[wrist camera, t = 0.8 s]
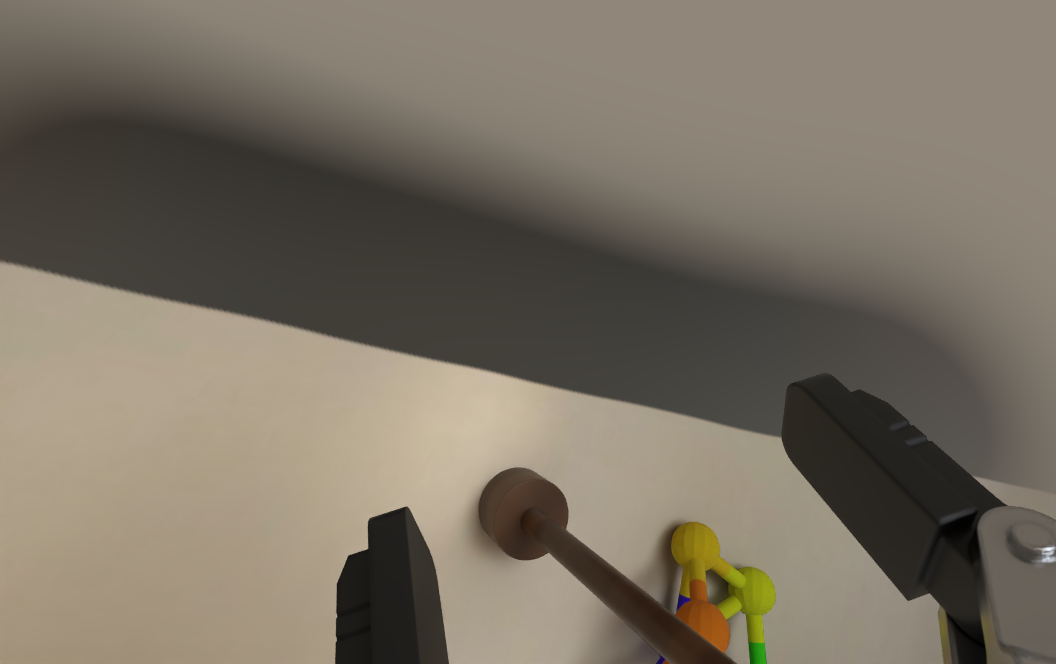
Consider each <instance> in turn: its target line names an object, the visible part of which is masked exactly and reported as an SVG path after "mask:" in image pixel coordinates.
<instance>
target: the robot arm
mask: <svg viewBox="0 0 1056 664" xmlns="http://www.w3.org/2000/svg"><path fill="white" fill-rule="evenodd" d="M785 399H786V400H785V408H784V416H783V425H782V442H783V445H784V448H785V451H786V453H787V455H788V457H789V458H790V460H791V461H792V463H793V464H794V465H795V467H796V468H797V469H798V470H799V471H800V472H801V474H802V475H803V476H804V477H805V478H806V480H807V481H808V482H809V483H810V484H811V486H812V487H813V488H814V489H815V490H816V492H817V493H818V494H819V495H820V496H821V498H822V499H823V500H824V501H825V502H826V504H827V505H828V506H829V507H830V508H831V510H832V511H833V512H834V513H835V514H836V516H837V517H838V518H839V519H840V520H841V521H842V523H843V524H844V525H845V526H846V527H847V529H848V530H849V531H850V532H851V533H852V535H853V536H854V537H855V538H856V539H857V541H858V542H859V543H860V544H861V545H862V547H863V548H864V549H865V550H866V551H867V553H868V554H869V555H870V556H871V557H872V559H873V560H874V561H875V562H876V563H877V565H878V566H879V567H880V568H881V569H882V570H883V572H884V573H885V574H886V575H887V576H888V578H889V579H890V580H891V581H892V582H893V584H894V585H895V586H896V587H897V588H898V590H899V591H900V592H901V593H902V594H903V596H904V597H905V598H906V599H907V600H908V601H909V600H912V599H915V598H918V597H920V596H923V595H926V594H928V593H930V594H931V595H932V596H933V597H934V598H935V600H936V601H937V602H938V603H939V604H940V607H939V611H938V617H939V626H940V635H941V644H942V653H943V662H944V664H1056V520H1055V519H1053V518H1051V517H1049V516H1047V515H1045V514H1042V513H1040V512H1037V511H1034V510H1031V509H1027V508H1023V507H1015V506H1007V505H1006V504H1004V503H1003V502H1001V501H1000V500H999V499H998V498H996V497H995V496H994V495H993V494H992V493H991V492H989V491H988V490H987V489H986V488H985V487H984V486H983V485H981V484H980V483H979V482H978V481H977V480H976V479H975V478H973V477H972V476H971V475H970V474H969V473H967V472H966V471H965V470H964V469H963V468H962V467H961V466H960V465H958V464H957V463H956V462H955V461H954V460H952V458H950V457H949V456H948V455H947V454H946V453H944V451H942V450H941V449H940V448H939V447H938V446H937V445H935V444H934V443H933V442H932V441H928V440H927V437H926V436H925V435H924V434H923V433H922V432H921V431H919V430H918V429H917V428H916V427H915V426H914V425H912V426H911V425H910V424H909V421H908V420H907V419H906V418H905V417H903V416H902V415H901V414H900V413H899V412H898V411H897V410H895V409H894V408H893V407H892V406H891V405H890V404H888V403H887V402H885V401H883V400H881V399H879V398H877V397H875V396H872V395H870V394H868V393H866V392H864V391H862V390H856V391H854V392H850V391H849V390H848V389H847V388H846V387H845V386H843V385H842V384H841V383H840V382H839V381H838V380H837V379H836V378H835V377H833V376H832V375H830V374H827V373H823V374H820V375H816V376H813V377H810V378H807V379H804V380H801V381H798V382H795V383H792V384H790V385H789V386H788V387H787V391H786V398H785ZM368 548H369V549H367V550H364V551H361V552H358V553H355V554H352V555H349V556H348V558H347V560H346V563H345V565H344V568H343V570H342V573H341V575H340V578H339V580H338V583H337V606H336V613H337V618H336V637H337V642H336V657H335V664H449V661H448V653H447V646H446V639H445V631H444V624H443V617H442V609H441V602H440V595H439V587H438V580H437V575H436V570H435V566H434V562H433V559H432V556H431V553H430V550H429V548H428V546H427V544H426V542H425V540H424V538H423V536H422V534H421V532H420V530H419V527H418V525H417V523H416V521H415V519H414V517H413V515H412V513H411V511H410V509H409V508H408V507H407V506H406V507H403V508H400V509H397V510H394V511H391V512H388V513H385V514H381V515H378V516H375V517H372V518H370V519H369V521H368Z"/></svg>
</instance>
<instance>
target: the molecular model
mask: <svg viewBox="0 0 1056 664" xmlns="http://www.w3.org/2000/svg"><path fill="white" fill-rule="evenodd" d="M671 550H672V554H673V556H674V558H675V560H676V561H677V563H678V564H679V565H680V566H682V567H683V574H682V580H681V586H680V592H679V599H678V605H677V611H676V615H675V616H677V617H678V618H679V619H681V620H682V621H683V622H684V623H686V624H687V625H688V626H689V627H691V628H692V629H693V630H695V631H696V632H697V633H698V634H700V635H701V636H702V637H704V638H705V639H706V640H707V641H709V642H710V643H711V644H713V645H714V646H715V647H716V648H718V649H719V650H720V651H721V652H723V653H724V652H725V651H726V649H727V647H728V644H729V639H730V631H729V626H728V623H727V619H729V618H730V617H731V616H733V615H734V614H736V613H737V612H738V611H741V612H742V613H745V614H746V621H747V633H748V644H749V655H750V664H767V663H766V652H765V642H764V632H763V621H762V615H764V614H766V613H767V612H769V611H770V610H771V609H772V607H773V606H774V603H775V598H776V593H775V587H774V584H773V582H772V580H771V579H770V577H769V576H768V575H767V574H766V573H764V572H763V571H761V570H759V569H757V568H754V567H744V568H741V569H738V570H736V569H735V568H734V567H732V566H731V565H730V564H729V563H727V562H726V561H725V560H724V559H722V558H721V557H720V556H719V555H720V545H719V542H718V539H717V537H716V535H715V533H714V532H713V531H712V530H711V529H710V528H709V527H707V526H706V525H704V524H701V523H698V522H688V523H685V524H683V525H681V526H680V527H678V528H677V529H676V531H675V532H674V534H673V537H672V542H671ZM709 569H712V570H713V571H714V572H716V573H717V574H718V575H719V576H721V577H722V578H723V579H725V580H726V581H727V582H728V583H729V584H728V593H729V597H728V598H727V599H725V600H724V601H722V602H721V603H719V604H718V605H717V606H715V605H713V604H711V603H709V602H708V598H707V586H706V574H705V571H707V570H709ZM659 655H660V654H659ZM656 664H670V663H669V662H668V661H667V660H666V659H664V658H663V657H662V656H661V655H660V659H659V660H658V662H657V663H656Z"/></svg>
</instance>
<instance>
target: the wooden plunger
mask: <svg viewBox="0 0 1056 664" xmlns="http://www.w3.org/2000/svg"><path fill="white" fill-rule="evenodd" d="M479 517H480V522H481V524H482V527H483V528H484V530H485V531H486V533H487V534H488V535H489V536H490V537H491V538H492V539H493V541H494V542H495V543H496V544H497V545H498V546H499V547H500V548H501V549H502V550H503V551H504V552H505V553H506V554H507V555H509V556H510V557H512V558H515V559H518V560H533V559H537V558H539V557H542V556H544V555H545V554H547V553H550V554H551V555H552V556H553V557H554V558H555V559H556V560H557V561H558V562H560V563H561V564H562V565H563V566H564V567H565V568H566V569H567V570H568V571H569V572H570V573H572V574H573V575H574V576H575V577H576V578H577V579H578V580H579V581H580V582H581V583H582V584H584V585H585V586H586V587H587V588H588V589H589V590H590V591H591V592H592V593H593V594H594V595H596V596H597V597H598V598H599V599H600V600H601V601H602V602H603V603H604V604H605V605H607V606H608V607H609V608H610V609H611V610H612V611H613V612H614V613H615V614H616V615H617V616H619V617H620V618H621V619H622V620H623V621H624V622H625V623H626V624H627V625H628V626H629V627H631V628H632V629H633V630H634V631H635V632H636V633H637V634H638V635H639V636H640V637H641V638H643V639H644V640H645V641H646V642H647V643H648V644H649V645H650V646H651V647H652V648H654V649H655V650H656V651H657V652H658V653H659V654H660V655H661V656H662V657H663V658H664V659H666V660H667V661H668V662H669V663H670V664H737V663H736V662H734V661H733V660H732V659H730V658H729V657H728V656H727V655H725V654H724V653H723V652H721V651H720V650H719V649H718V648H716V647H715V646H714V645H713V644H711V643H710V642H709V641H707V640H706V639H705V638H704V637H702V636H701V635H700V634H698V633H697V632H696V631H695V630H693V629H692V628H691V627H689V626H688V625H687V624H686V623H684V622H683V621H682V620H681V619H679V618H678V617H677V616H675V615H674V614H673V613H672V612H670V611H669V610H668V609H666V608H665V607H664V606H663V605H661V604H660V603H659V602H658V601H656V600H655V599H654V598H652V597H651V596H650V595H649V594H647V593H646V592H645V591H643V590H642V589H641V588H640V587H638V586H637V585H636V584H634V583H633V582H632V581H631V580H629V579H628V578H627V577H626V576H624V575H623V574H622V573H620V572H619V571H618V570H617V569H615V568H614V567H613V566H611V565H610V564H609V563H608V562H606V561H605V560H604V559H602V558H601V557H600V556H599V555H597V554H596V553H595V552H594V551H592V550H591V549H590V548H588V547H587V546H586V545H585V544H583V543H582V542H581V541H579V540H578V539H577V538H576V537H574V536H573V535H572V534H570V533H569V532H568V531H567V530H566V527H567V523H568V506H567V502H566V499H565V497H564V495H563V493H562V492H561V490H560V489H559V488H558V487H557V486H555V485H554V484H553V483H551V482H549V481H548V480H546V479H545V478H543V477H542V476H540V475H539V474H537V473H536V472H534V471H532V470H529V469H526V468H512V469H508V470H505V471H503V472H501V473H500V474H498V475H497V476H495V477H494V478H493V479H492V480H491V481H490V482H489V483H488V485H487V486H486V488H485V490H484V491H483V494H482V496H481V499H480V504H479Z"/></svg>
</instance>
